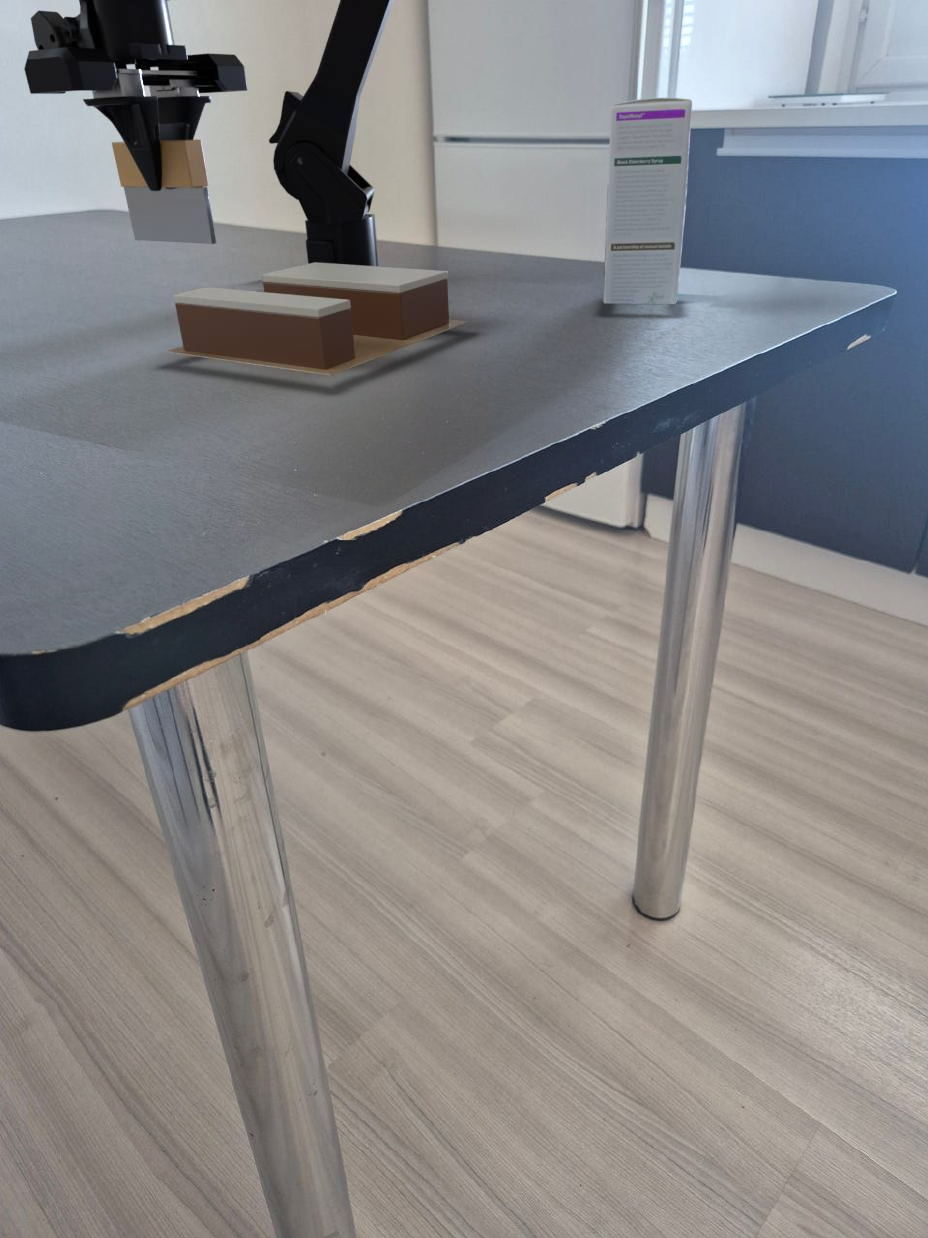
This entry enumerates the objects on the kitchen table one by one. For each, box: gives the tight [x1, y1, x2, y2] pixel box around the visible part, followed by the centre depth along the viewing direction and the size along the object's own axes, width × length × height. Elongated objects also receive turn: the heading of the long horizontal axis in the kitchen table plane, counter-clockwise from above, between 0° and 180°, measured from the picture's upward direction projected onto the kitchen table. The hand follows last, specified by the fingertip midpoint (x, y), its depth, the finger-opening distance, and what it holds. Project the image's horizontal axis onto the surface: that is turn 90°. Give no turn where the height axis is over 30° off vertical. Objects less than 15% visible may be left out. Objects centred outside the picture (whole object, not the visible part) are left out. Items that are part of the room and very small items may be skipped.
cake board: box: [165, 319, 469, 376], centre depth 59 cm, size 16×14×1 cm
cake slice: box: [172, 286, 355, 370], centre depth 53 cm, size 3×12×4 cm, turn 59°
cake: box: [261, 262, 450, 340], centre depth 61 cm, size 6×12×4 cm, turn 59°
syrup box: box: [602, 97, 693, 305], centre depth 64 cm, size 6×6×14 cm
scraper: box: [111, 139, 218, 245], centre depth 75 cm, size 10×2×8 cm, turn 59°
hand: (166, 189), depth 75 cm, fingers closed on scraper, 2 cm apart
